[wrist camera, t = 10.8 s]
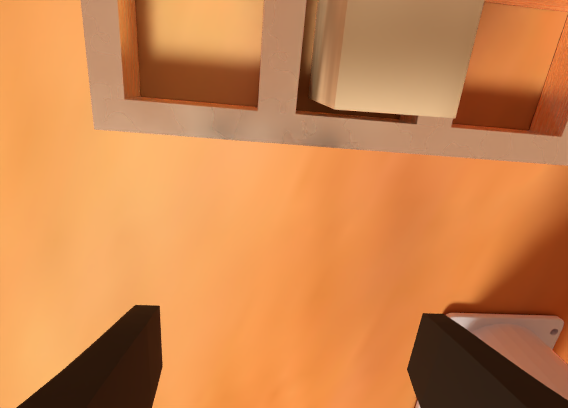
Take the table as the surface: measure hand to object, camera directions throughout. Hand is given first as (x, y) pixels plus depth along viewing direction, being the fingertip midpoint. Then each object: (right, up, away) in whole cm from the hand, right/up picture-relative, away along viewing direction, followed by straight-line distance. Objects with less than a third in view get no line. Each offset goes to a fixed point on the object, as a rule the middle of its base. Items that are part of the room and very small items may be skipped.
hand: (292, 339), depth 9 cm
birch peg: (+3, +11, +6) cm, 13 cm away
